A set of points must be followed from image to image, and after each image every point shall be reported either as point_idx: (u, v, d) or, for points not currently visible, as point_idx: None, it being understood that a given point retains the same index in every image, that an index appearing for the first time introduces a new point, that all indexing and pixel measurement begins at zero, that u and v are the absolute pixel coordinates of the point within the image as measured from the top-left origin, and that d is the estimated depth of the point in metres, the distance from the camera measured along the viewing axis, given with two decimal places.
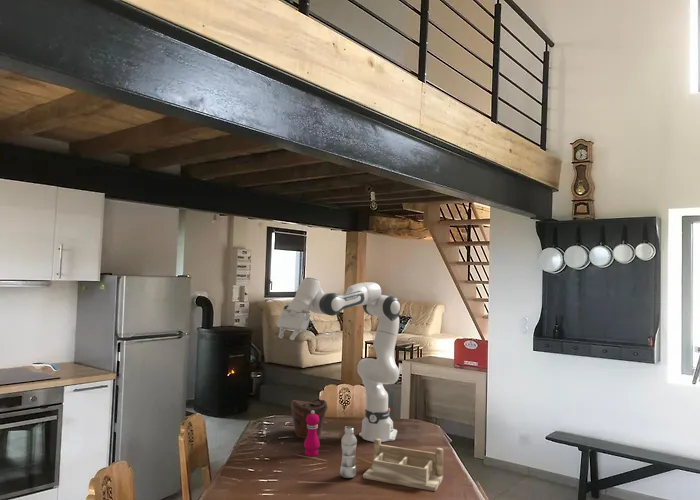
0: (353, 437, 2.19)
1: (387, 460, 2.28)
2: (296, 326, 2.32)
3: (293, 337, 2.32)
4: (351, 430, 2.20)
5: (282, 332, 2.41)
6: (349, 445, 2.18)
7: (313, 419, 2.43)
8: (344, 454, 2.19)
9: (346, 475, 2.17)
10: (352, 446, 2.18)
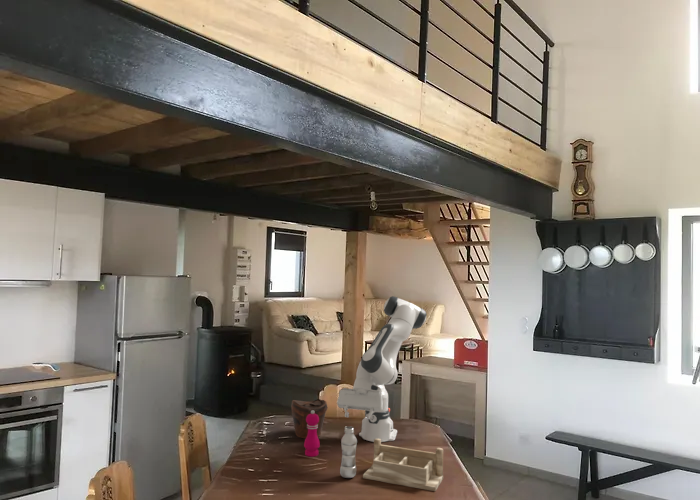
0: (353, 437, 2.19)
1: (387, 460, 2.28)
2: None
3: None
4: (351, 430, 2.20)
5: None
6: (349, 445, 2.18)
7: (313, 419, 2.43)
8: (344, 454, 2.19)
9: (346, 474, 2.17)
10: (352, 446, 2.18)
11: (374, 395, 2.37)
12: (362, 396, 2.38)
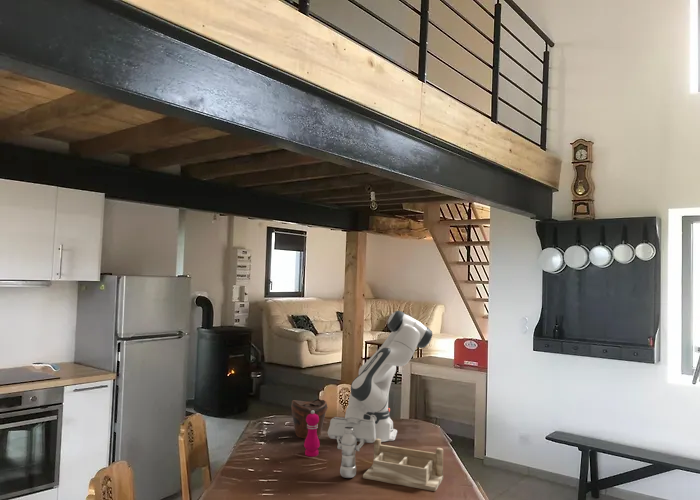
0: (353, 437, 2.19)
1: (387, 460, 2.28)
2: None
3: None
4: (351, 430, 2.20)
5: None
6: (349, 445, 2.18)
7: (313, 419, 2.43)
8: (344, 454, 2.19)
9: (346, 474, 2.17)
10: (352, 446, 2.18)
11: (367, 425, 2.25)
12: (354, 426, 2.26)
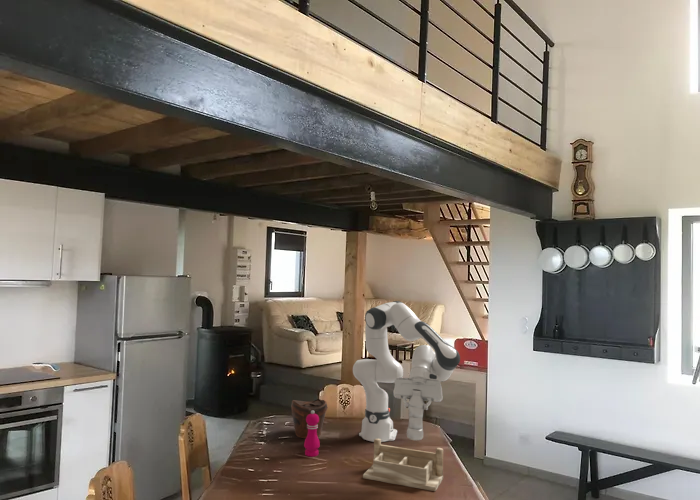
0: (421, 399, 2.18)
1: (387, 460, 2.28)
2: None
3: (405, 404, 2.20)
4: (419, 392, 2.18)
5: None
6: (418, 407, 2.16)
7: (313, 419, 2.43)
8: (412, 416, 2.16)
9: (414, 437, 2.15)
10: (421, 408, 2.16)
11: (433, 384, 2.22)
12: (420, 385, 2.24)
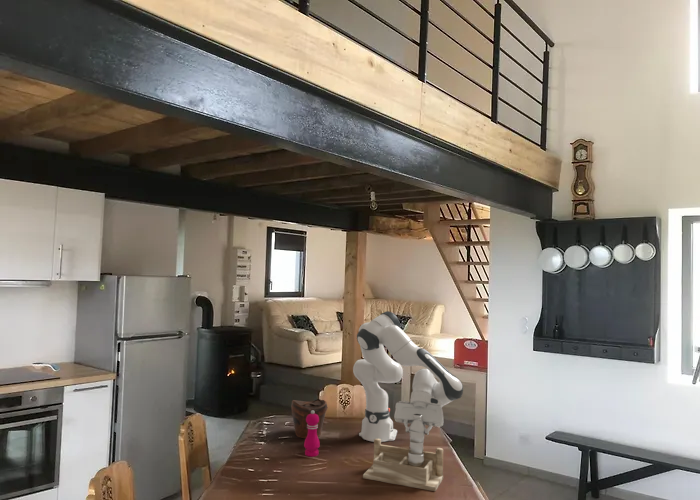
0: (422, 424, 2.17)
1: (387, 460, 2.28)
2: None
3: None
4: (420, 417, 2.17)
5: None
6: (419, 432, 2.15)
7: (313, 419, 2.43)
8: (413, 441, 2.16)
9: (415, 462, 2.14)
10: (422, 433, 2.16)
11: (434, 409, 2.22)
12: (421, 410, 2.23)
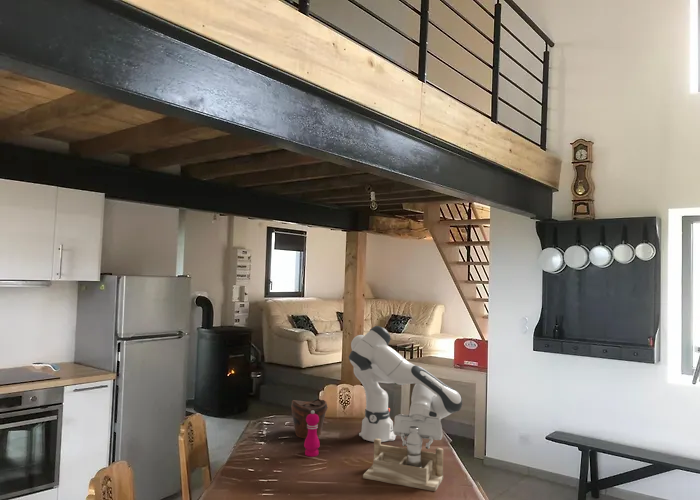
0: (419, 436, 2.17)
1: (387, 460, 2.28)
2: None
3: None
4: (416, 429, 2.17)
5: None
6: (416, 445, 2.15)
7: (313, 419, 2.43)
8: (410, 454, 2.16)
9: None
10: (418, 445, 2.15)
11: (433, 422, 2.22)
12: (420, 423, 2.23)
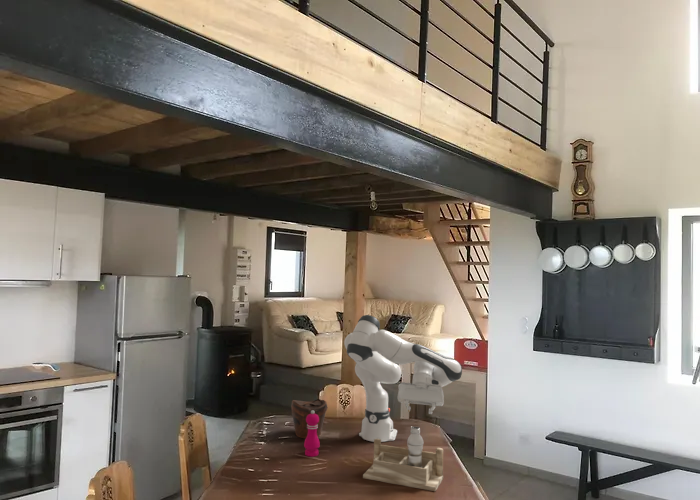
0: (420, 437, 2.16)
1: (387, 460, 2.28)
2: None
3: None
4: (418, 430, 2.16)
5: None
6: (417, 446, 2.15)
7: (313, 419, 2.43)
8: (411, 455, 2.15)
9: None
10: (420, 446, 2.15)
11: (435, 390, 2.36)
12: (423, 390, 2.37)
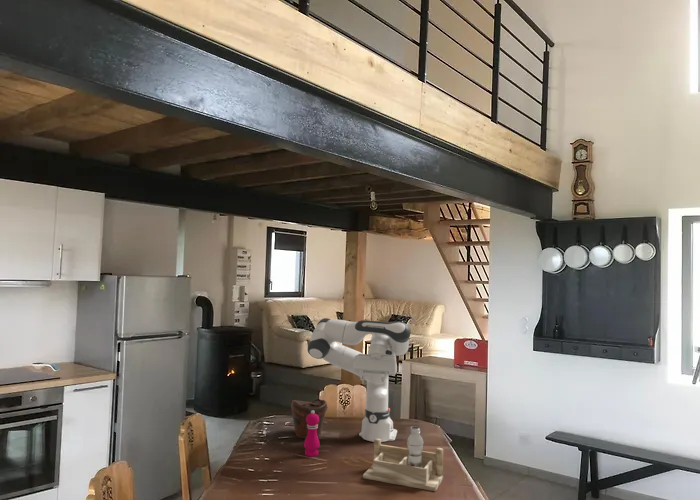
0: (420, 437, 2.16)
1: (387, 460, 2.28)
2: None
3: None
4: (418, 430, 2.16)
5: None
6: (417, 446, 2.15)
7: (313, 419, 2.43)
8: (411, 455, 2.15)
9: None
10: (419, 446, 2.15)
11: (388, 359, 2.45)
12: (377, 361, 2.46)
